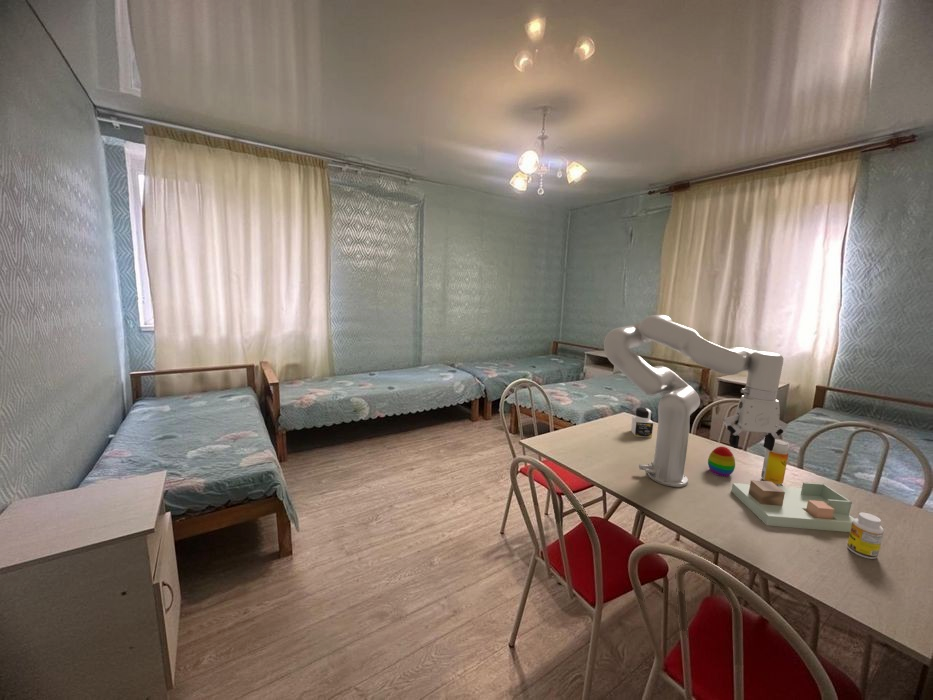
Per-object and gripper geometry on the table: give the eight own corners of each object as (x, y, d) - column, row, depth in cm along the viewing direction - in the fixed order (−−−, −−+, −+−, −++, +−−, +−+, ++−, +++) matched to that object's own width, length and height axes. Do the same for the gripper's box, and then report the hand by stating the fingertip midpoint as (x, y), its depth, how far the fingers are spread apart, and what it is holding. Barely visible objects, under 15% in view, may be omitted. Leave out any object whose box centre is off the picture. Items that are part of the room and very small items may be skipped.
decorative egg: (738, 478, 135) (743, 452, 134) (715, 478, 136) (719, 451, 134) (724, 467, 143) (728, 442, 142) (702, 466, 144) (705, 441, 142)
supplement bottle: (845, 542, 103) (853, 507, 101) (875, 551, 100) (884, 516, 98) (847, 553, 99) (856, 517, 97) (878, 563, 95) (888, 526, 94)
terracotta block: (814, 527, 109) (818, 508, 108) (804, 518, 113) (808, 500, 112) (830, 528, 109) (834, 509, 108) (819, 519, 113) (823, 501, 112)
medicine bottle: (634, 436, 171) (637, 410, 169) (630, 430, 178) (633, 405, 175) (651, 437, 170) (654, 412, 167) (647, 431, 176) (649, 406, 174)
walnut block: (760, 504, 115) (763, 490, 114) (748, 493, 121) (750, 480, 120) (782, 505, 114) (784, 492, 113) (769, 494, 120) (771, 481, 119)
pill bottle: (786, 487, 131) (794, 445, 128) (766, 484, 132) (773, 444, 129) (776, 478, 136) (783, 438, 134) (757, 476, 138) (764, 436, 135)
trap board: (766, 525, 110) (770, 503, 108) (731, 491, 127) (734, 471, 126) (859, 532, 107) (864, 510, 106) (809, 497, 125) (813, 477, 123)
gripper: (736, 395, 110) (726, 450, 114) (801, 399, 108) (790, 455, 112) (722, 388, 118) (713, 440, 121) (783, 391, 116) (773, 444, 119)
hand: (750, 447), depth 116 cm, fingers open, 9 cm apart
